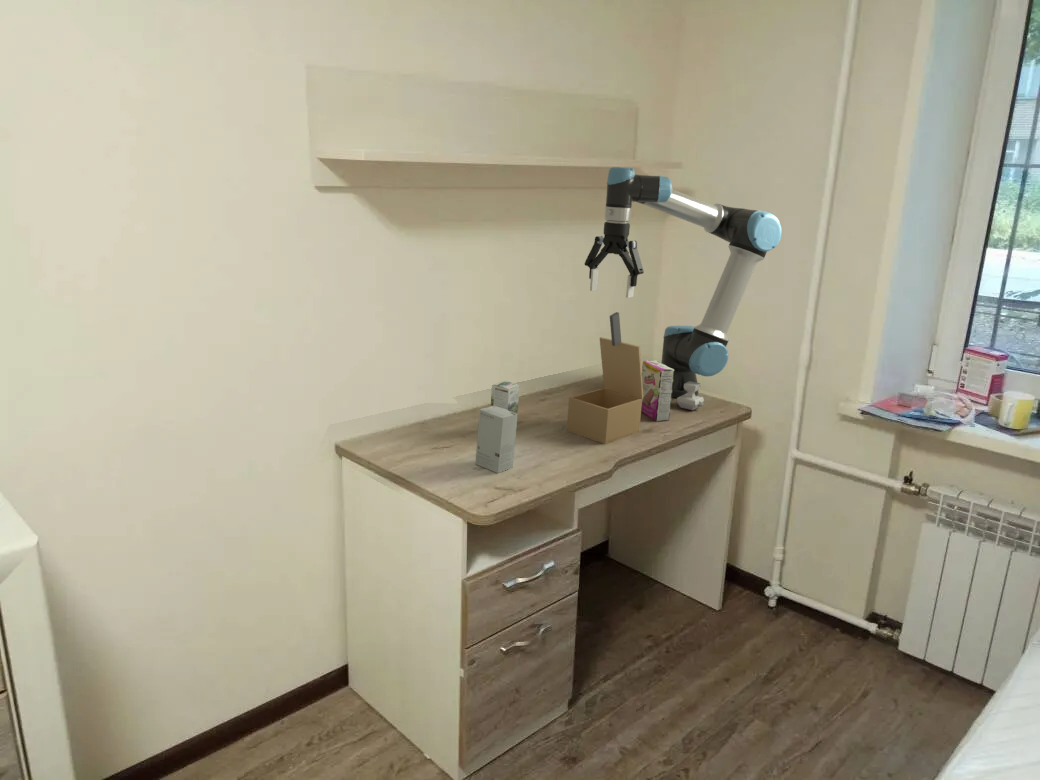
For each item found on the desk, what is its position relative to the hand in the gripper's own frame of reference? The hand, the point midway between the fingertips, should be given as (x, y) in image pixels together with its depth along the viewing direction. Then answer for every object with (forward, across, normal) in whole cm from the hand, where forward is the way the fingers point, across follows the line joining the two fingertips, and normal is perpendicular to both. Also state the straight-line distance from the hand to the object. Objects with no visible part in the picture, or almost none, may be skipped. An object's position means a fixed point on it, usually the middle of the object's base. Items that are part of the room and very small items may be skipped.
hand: (611, 293), depth 239 cm
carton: (+37, +13, -16) cm, 42 cm away
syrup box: (+37, -4, -40) cm, 55 cm away
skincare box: (+37, +12, -59) cm, 71 cm away
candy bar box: (+37, +14, +8) cm, 40 cm away
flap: (+15, +13, -13) cm, 24 cm away
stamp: (+37, +17, +24) cm, 47 cm away
